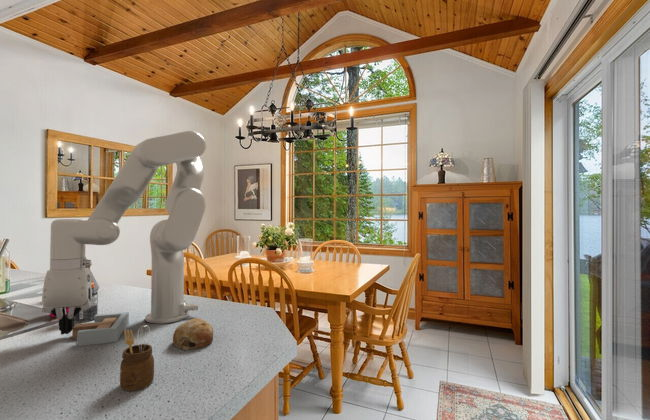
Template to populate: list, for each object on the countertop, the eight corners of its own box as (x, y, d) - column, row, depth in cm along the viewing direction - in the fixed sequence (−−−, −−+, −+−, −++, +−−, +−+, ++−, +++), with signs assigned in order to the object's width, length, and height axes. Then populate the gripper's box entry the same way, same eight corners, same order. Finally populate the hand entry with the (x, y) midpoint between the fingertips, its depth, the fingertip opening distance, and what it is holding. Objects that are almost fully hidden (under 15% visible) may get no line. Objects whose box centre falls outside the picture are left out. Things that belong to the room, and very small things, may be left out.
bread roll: (170, 363, 83) (168, 339, 80) (177, 332, 92) (175, 310, 89) (212, 359, 85) (211, 336, 82) (214, 329, 94) (214, 307, 91)
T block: (80, 331, 94) (80, 320, 94) (116, 327, 97) (116, 317, 97) (68, 343, 86) (68, 331, 86) (108, 338, 89) (108, 327, 89)
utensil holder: (159, 376, 69) (160, 319, 69) (142, 393, 63) (142, 330, 63) (132, 376, 69) (132, 318, 69) (111, 392, 63) (112, 329, 63)
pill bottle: (76, 317, 106) (76, 282, 106) (98, 315, 108) (99, 280, 108) (72, 323, 100) (72, 286, 100) (96, 320, 103) (96, 284, 103)
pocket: (128, 323, 101) (128, 312, 101) (115, 341, 87) (115, 328, 87) (95, 326, 98) (96, 314, 98) (77, 346, 84) (77, 332, 84)
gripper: (104, 261, 95) (103, 325, 95) (40, 263, 90) (39, 330, 90) (95, 265, 88) (94, 334, 88) (26, 268, 83) (24, 340, 83)
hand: (66, 332), depth 89 cm, fingers closed
